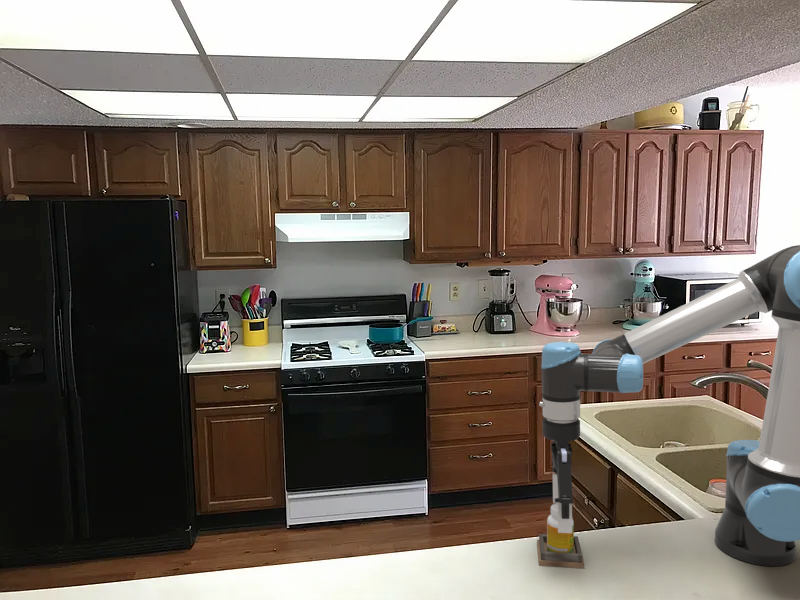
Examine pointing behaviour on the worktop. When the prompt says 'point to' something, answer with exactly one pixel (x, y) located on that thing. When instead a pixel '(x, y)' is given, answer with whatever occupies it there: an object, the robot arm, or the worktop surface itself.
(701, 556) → the worktop surface
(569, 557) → the socket board
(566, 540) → the supplement bottle
